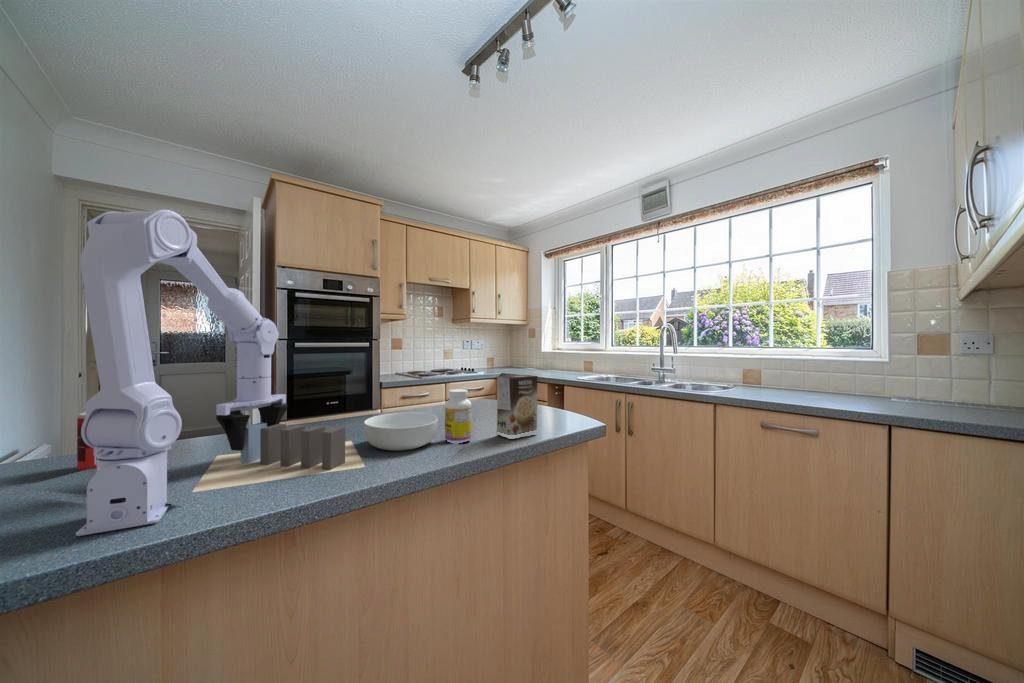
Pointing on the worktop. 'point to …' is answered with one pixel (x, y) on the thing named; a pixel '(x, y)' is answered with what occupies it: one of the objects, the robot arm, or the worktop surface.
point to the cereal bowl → (401, 430)
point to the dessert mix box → (517, 404)
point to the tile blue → (252, 443)
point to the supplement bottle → (458, 416)
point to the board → (264, 470)
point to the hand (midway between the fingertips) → (254, 444)
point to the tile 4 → (311, 446)
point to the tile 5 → (333, 448)
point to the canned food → (84, 449)
